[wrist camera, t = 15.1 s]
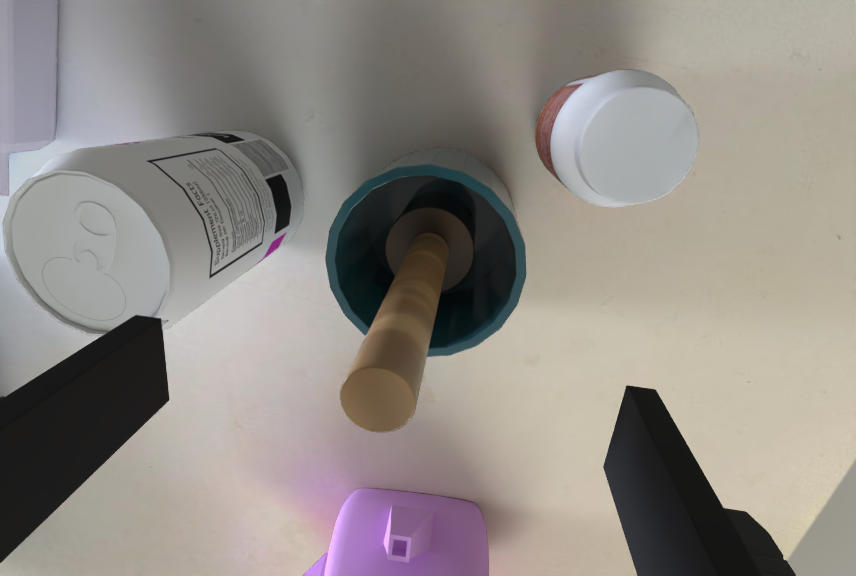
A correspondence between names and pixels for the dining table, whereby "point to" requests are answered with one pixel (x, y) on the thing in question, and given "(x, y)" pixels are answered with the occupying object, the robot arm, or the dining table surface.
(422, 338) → the brush
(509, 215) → the jar
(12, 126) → the charger
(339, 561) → the teakettle
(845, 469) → the dining table surface
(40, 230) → the supplement can
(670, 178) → the pill bottle
